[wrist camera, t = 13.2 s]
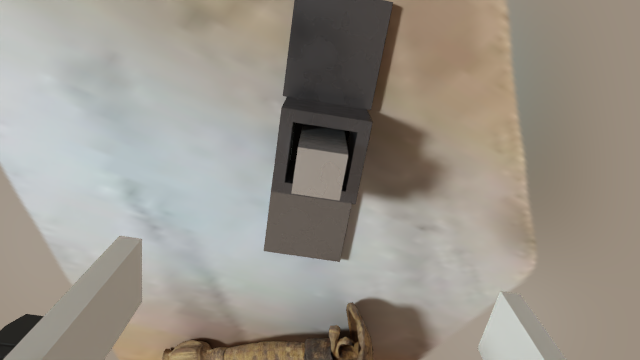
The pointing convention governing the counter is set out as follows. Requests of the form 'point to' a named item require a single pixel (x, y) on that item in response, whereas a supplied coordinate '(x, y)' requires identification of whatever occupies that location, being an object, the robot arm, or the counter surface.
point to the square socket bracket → (325, 116)
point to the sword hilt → (287, 346)
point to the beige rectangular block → (320, 162)
